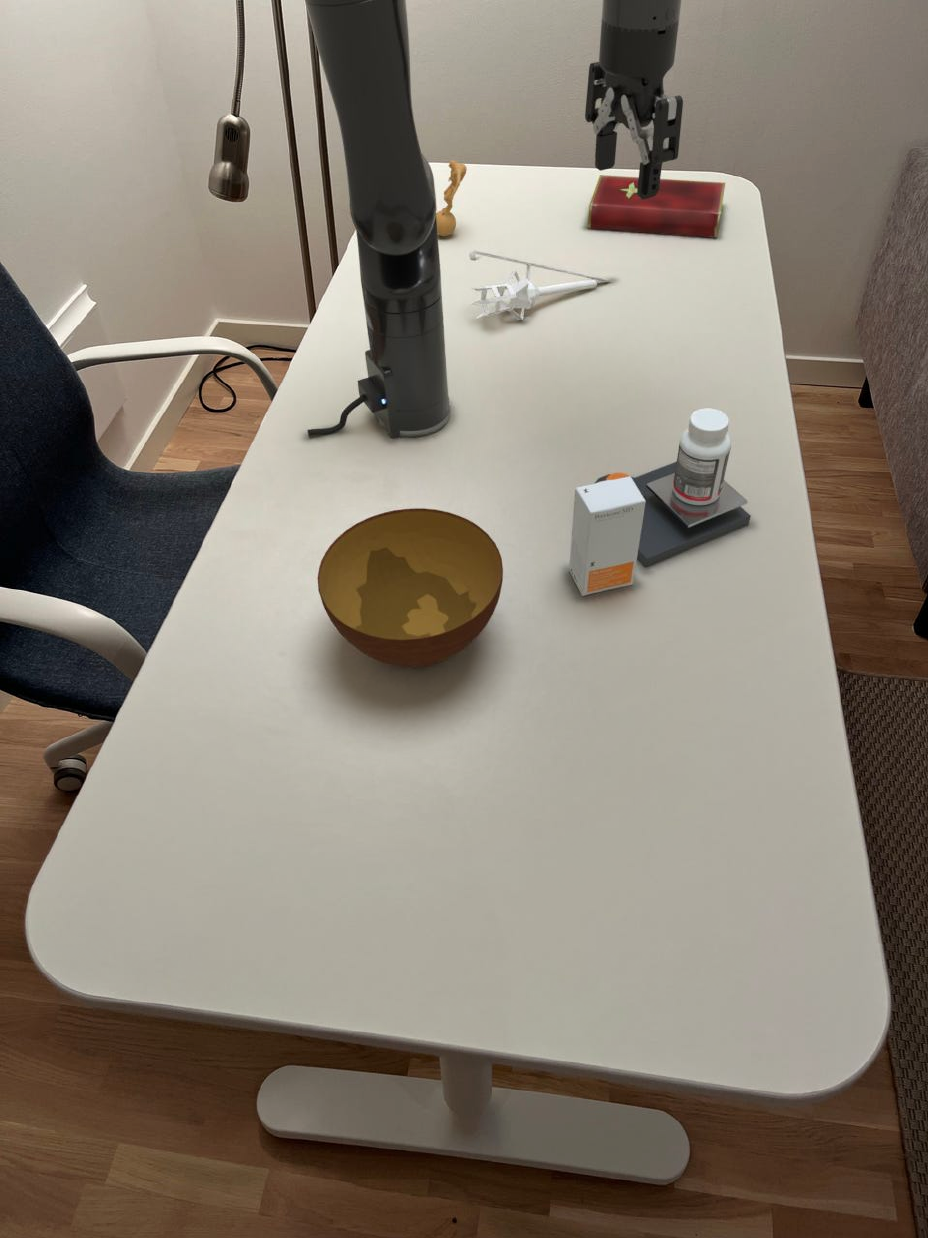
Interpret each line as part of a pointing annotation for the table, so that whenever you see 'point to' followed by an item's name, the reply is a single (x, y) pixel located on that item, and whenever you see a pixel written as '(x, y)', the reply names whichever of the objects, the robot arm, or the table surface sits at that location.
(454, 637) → the bowl
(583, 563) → the cosmetic box
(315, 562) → the table surface
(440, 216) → the figurine
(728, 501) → the weighing pan
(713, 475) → the pill bottle
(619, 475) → the tare button
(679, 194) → the hardcover book
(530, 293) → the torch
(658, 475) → the scale
